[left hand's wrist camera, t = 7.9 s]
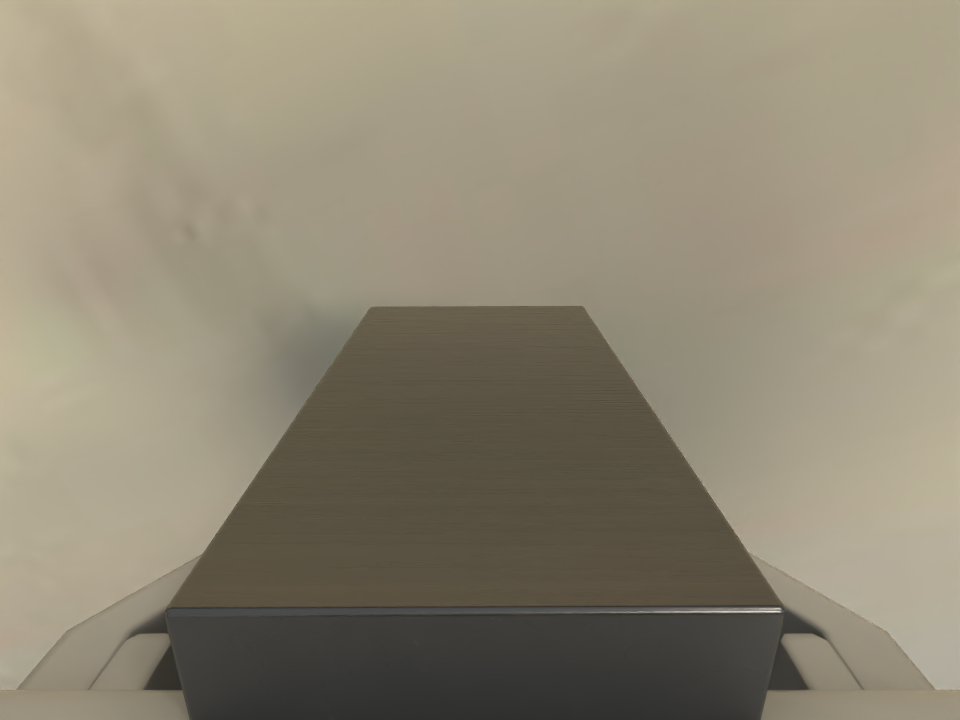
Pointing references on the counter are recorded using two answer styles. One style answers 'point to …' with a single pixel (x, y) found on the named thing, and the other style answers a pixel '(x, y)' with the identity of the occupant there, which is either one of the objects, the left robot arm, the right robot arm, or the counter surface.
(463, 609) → the bar
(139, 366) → the counter surface
